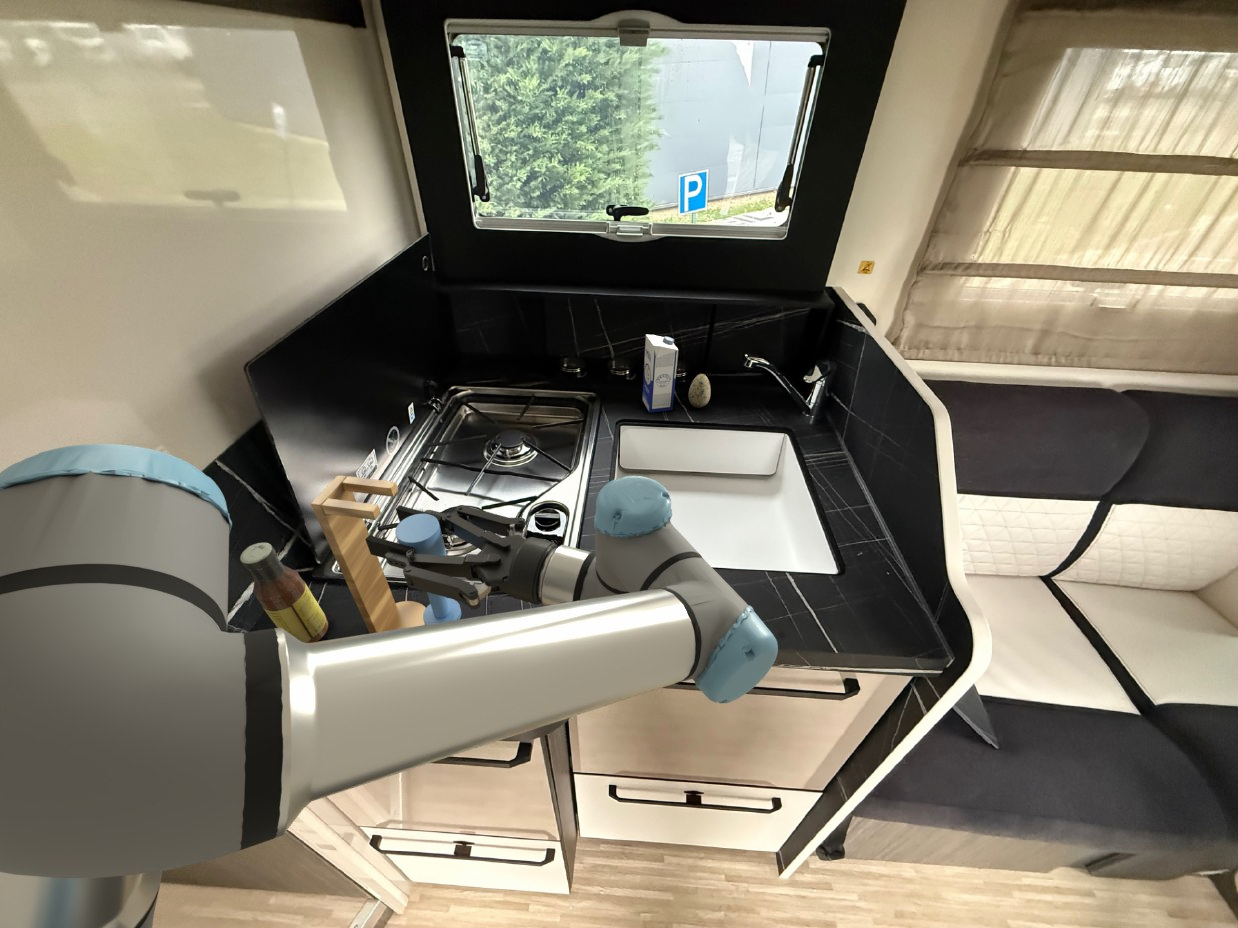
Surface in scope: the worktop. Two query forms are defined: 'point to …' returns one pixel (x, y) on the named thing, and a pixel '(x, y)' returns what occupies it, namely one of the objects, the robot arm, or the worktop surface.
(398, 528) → the peg
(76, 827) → the robot arm
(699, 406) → the decorative egg
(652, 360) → the milk carton
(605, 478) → the worktop surface
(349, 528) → the stand
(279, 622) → the sauce bottle
